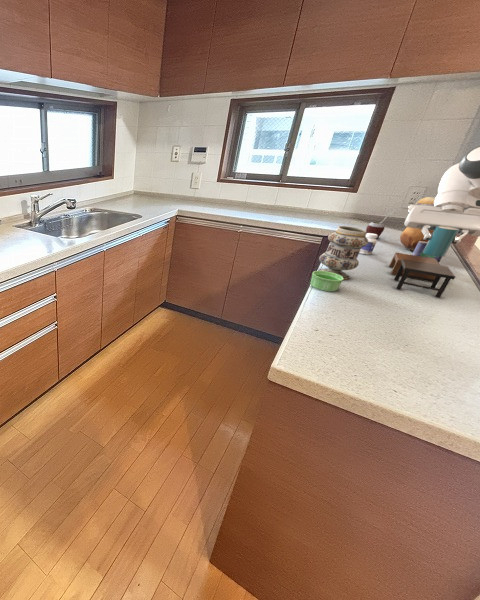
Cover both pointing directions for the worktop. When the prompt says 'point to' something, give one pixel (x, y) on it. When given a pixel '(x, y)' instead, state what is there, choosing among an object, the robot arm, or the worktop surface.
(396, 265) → the brown display stand
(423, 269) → the dark brown wooden table
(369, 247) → the pill bottle
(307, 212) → the worktop surface
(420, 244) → the flask
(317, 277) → the ramekin
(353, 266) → the apothecary jar
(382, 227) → the mate gourd
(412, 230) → the butternut squash
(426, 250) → the cup
